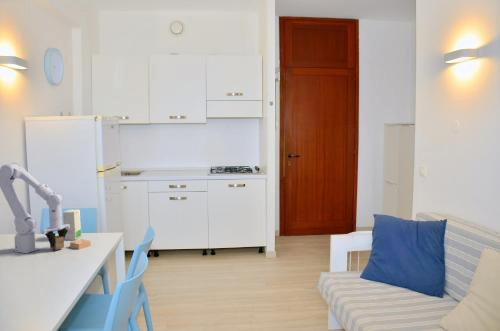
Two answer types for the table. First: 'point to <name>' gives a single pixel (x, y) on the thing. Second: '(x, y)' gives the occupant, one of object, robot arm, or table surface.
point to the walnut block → (58, 243)
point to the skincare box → (72, 224)
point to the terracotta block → (80, 244)
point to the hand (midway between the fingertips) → (57, 244)
